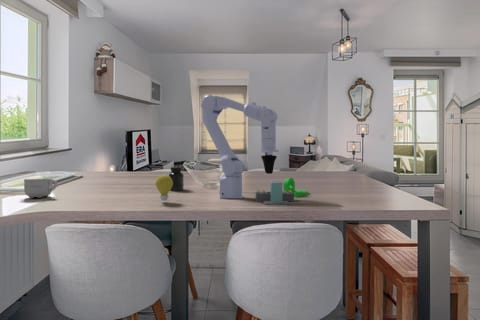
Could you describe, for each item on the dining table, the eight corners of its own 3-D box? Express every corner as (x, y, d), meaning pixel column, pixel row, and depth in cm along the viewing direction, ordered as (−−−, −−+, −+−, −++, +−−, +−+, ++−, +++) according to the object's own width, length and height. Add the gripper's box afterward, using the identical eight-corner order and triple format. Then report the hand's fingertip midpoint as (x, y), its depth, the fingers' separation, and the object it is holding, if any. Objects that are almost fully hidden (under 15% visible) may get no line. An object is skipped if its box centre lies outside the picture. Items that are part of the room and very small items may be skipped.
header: (256, 201, 150) (256, 191, 150) (255, 199, 157) (255, 189, 157) (294, 201, 150) (294, 191, 150) (291, 199, 157) (291, 189, 157)
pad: (264, 204, 141) (264, 203, 141) (263, 201, 149) (263, 200, 149) (289, 204, 141) (289, 203, 141) (287, 201, 149) (287, 200, 149)
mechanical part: (295, 197, 164) (295, 178, 164) (283, 196, 168) (283, 178, 168) (310, 195, 173) (310, 177, 173) (298, 194, 177) (298, 176, 177)
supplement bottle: (181, 192, 188) (181, 166, 188) (185, 193, 182) (185, 167, 182) (167, 192, 185) (166, 167, 185) (171, 193, 179) (170, 167, 179)
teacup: (18, 198, 163) (17, 178, 163) (40, 195, 173) (40, 177, 173) (42, 199, 158) (42, 179, 158) (64, 196, 168) (64, 178, 168)
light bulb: (158, 201, 150) (158, 175, 150) (153, 199, 156) (153, 174, 156) (175, 200, 153) (175, 175, 153) (169, 199, 159) (169, 174, 159)
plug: (270, 202, 143) (270, 180, 143) (269, 201, 147) (269, 179, 147) (283, 202, 143) (283, 180, 143) (281, 201, 148) (281, 179, 147)
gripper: (280, 138, 150) (280, 173, 150) (276, 139, 164) (277, 172, 165) (261, 138, 150) (262, 174, 150) (259, 139, 164) (260, 172, 165)
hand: (268, 173), depth 157 cm, fingers open, 7 cm apart
